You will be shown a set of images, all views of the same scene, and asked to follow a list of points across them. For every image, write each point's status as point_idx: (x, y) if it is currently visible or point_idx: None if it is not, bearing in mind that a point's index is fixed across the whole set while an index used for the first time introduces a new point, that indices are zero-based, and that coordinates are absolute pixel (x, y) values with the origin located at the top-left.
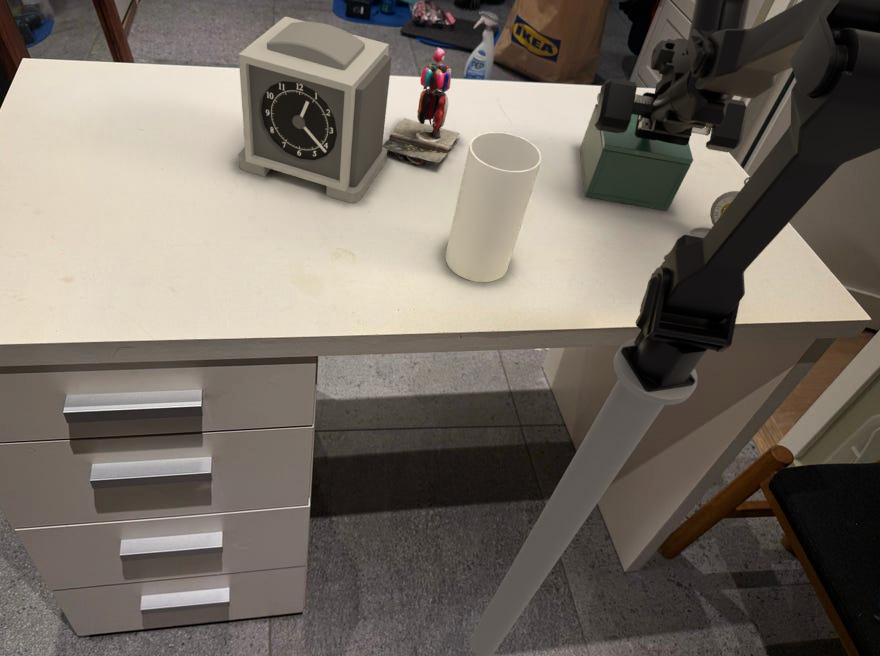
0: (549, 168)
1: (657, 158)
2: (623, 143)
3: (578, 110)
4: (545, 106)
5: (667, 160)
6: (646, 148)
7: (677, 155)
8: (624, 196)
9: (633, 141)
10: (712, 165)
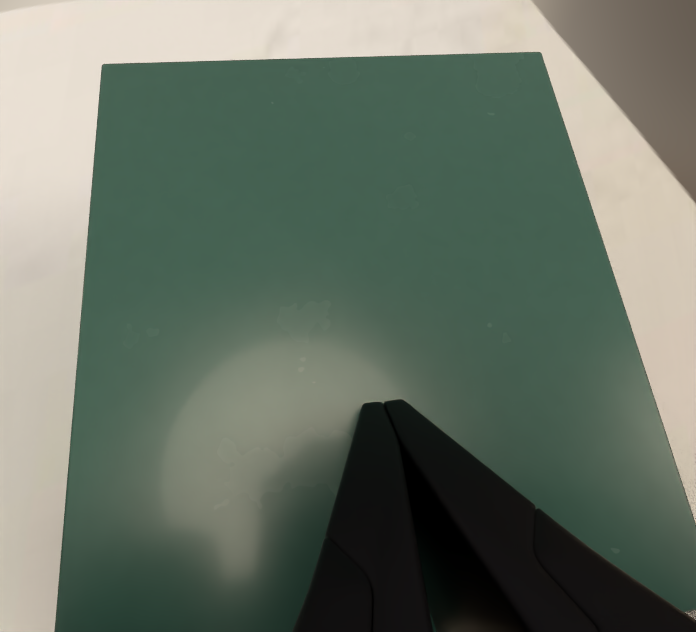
0: (66, 424)
1: None
2: (209, 622)
3: (209, 51)
4: (102, 62)
5: None
6: None
7: None
8: None
9: (291, 545)
10: (619, 186)
